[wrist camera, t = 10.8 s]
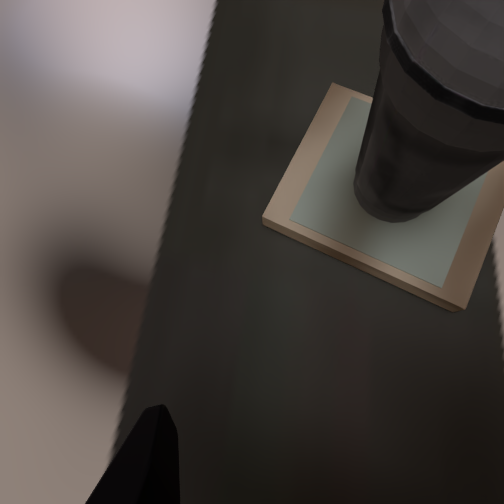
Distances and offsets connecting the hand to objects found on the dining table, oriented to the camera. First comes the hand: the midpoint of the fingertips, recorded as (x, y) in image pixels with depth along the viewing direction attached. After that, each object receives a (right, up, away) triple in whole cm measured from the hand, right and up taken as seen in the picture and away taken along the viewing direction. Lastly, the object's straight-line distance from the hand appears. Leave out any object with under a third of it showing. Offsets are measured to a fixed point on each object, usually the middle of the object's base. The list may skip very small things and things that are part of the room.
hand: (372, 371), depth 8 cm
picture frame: (+6, +6, +15) cm, 17 cm away
